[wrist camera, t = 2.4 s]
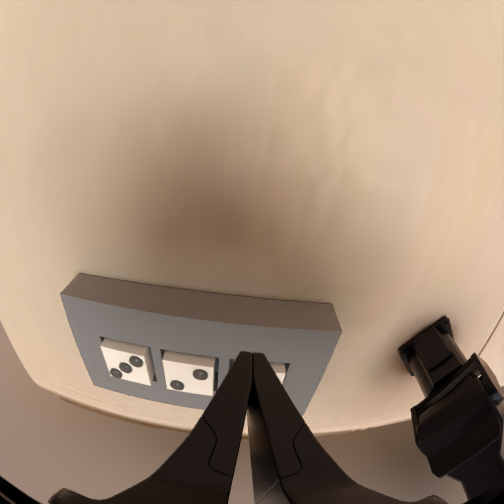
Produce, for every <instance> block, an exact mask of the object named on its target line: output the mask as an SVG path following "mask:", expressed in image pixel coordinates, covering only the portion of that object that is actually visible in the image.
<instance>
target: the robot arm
mask: <svg viewBox="0 0 504 504" xmlns="http://www.w3.org/2000/svg"><path fill="white" fill-rule="evenodd" d="M398 352H399V354H400V356H401V358H402V360H403V361H404V363H405V365H406V367H407V369H408V371H409V373H410V375H411V376H414V375H415V377H416V379H417V381H418V383H419V385H420V387H421V390H422V392H423V394H424V396H425V399H424V400H423V401H421V402H420V403H419V404H417V405H416V406H414V407H412V408H411V417H412V422H413V428H414V435H415V441H416V444H417V447H418V448H419V449H420V450H421V451H422V453H423V454H425V455H426V457H427V459H428V461H429V464H430V467H431V470H432V473H433V474H435V475H436V476H437V477H439V478H441V477H443V476H445V475H447V476H448V477H451V478H453V479H455V480H457V481H459V482H461V484H462V486H463V488H464V491H465V493H466V496H467V499H468V501H466V502H464V503H463V504H504V408H503V406H502V404H501V402H502V401H503V400H504V394H503V392H502V390H501V387H500V385H499V383H498V381H497V378H496V376H495V375H494V373H493V372H492V370H491V369H490V368H489V366H488V365H487V363H486V362H485V361H484V360H483V359H482V358H480V357H479V356H478V355H477V354H476V353H475V352H474V353H473V354H472V355H471V358H470V359H469V360H467V359H466V357H465V356H464V354H463V353H462V351H461V350H460V349H459V347H458V346H457V344H456V343H455V341H454V339H453V334H452V330H451V325H450V321H449V319H448V317H446V316H445V317H443V318H442V319H440V320H439V321H438V322H436V323H435V324H434V325H432V326H431V327H430V328H428V329H427V330H426V331H424V332H423V333H421V334H420V335H418V336H417V337H416V338H414V339H413V340H411V341H410V342H408V343H407V344H405V345H404V346H402V347H401V348H400V349H399V350H398ZM480 374H481V376H480V377H479V378H478V376H479V375H480ZM246 412H247V422H248V434H249V445H250V458H251V469H252V480H253V491H254V501H255V504H448V503H447V502H446V501H445V500H443V499H441V498H440V497H438V496H436V495H432V496H429V497H426V498H424V499H422V500H419V501H416V502H404V501H400V500H397V499H394V498H391V497H388V496H386V495H383V494H381V493H378V492H376V491H373V490H371V489H368V488H366V487H364V486H362V485H360V484H358V483H356V482H355V481H353V480H352V479H351V478H350V477H349V476H348V475H347V474H346V473H345V472H344V471H343V470H342V469H341V468H340V467H339V465H338V464H337V463H336V462H335V461H334V460H333V459H332V458H331V456H330V455H329V454H328V453H327V452H326V451H325V449H324V448H323V447H322V446H321V444H320V443H319V442H318V441H317V439H316V438H315V436H314V435H313V433H312V432H311V430H310V429H309V427H308V426H307V424H306V423H305V421H304V419H303V418H302V416H301V414H300V413H299V411H298V410H297V408H296V406H295V405H294V403H293V401H292V400H291V398H290V397H289V395H288V393H287V392H286V390H285V388H284V387H283V385H282V383H281V382H280V380H279V378H278V376H277V375H276V373H275V371H274V370H273V368H272V366H271V365H270V363H269V361H268V359H267V358H266V356H265V354H264V353H260V352H253V353H251V352H249V351H240V352H239V354H238V356H237V358H236V359H235V361H234V363H233V364H232V366H231V368H230V370H229V371H228V373H227V375H226V376H225V378H224V380H223V381H222V383H221V385H220V386H219V388H218V390H217V391H216V393H215V395H214V396H213V398H212V400H211V401H210V403H209V404H208V406H207V408H206V409H205V411H204V413H203V414H202V417H200V419H199V420H198V422H197V424H196V425H195V427H194V428H193V429H192V431H191V432H190V434H189V435H188V436H187V438H186V439H185V440H184V441H183V443H182V444H181V445H180V446H179V447H178V448H177V449H176V450H175V452H174V453H173V454H172V455H171V456H170V457H169V458H168V459H167V460H166V461H165V462H164V463H163V464H162V466H160V467H159V468H158V469H157V470H156V471H155V472H154V473H153V474H152V475H151V476H149V477H148V478H147V479H145V480H143V481H141V482H139V483H138V484H136V485H134V486H132V487H131V488H128V489H126V490H124V491H122V492H120V493H118V494H116V495H114V496H112V497H110V498H107V499H103V500H95V499H91V498H88V497H85V496H83V495H81V494H78V493H76V492H74V491H72V490H69V489H66V488H62V489H61V490H59V491H58V492H57V493H55V494H54V495H53V496H51V498H50V499H49V500H48V503H50V504H228V500H229V495H230V490H231V485H232V480H233V476H234V471H235V466H236V461H237V457H238V451H239V447H240V441H241V437H242V432H243V427H244V422H245V417H246ZM0 504H42V503H40V502H39V501H37V500H35V499H33V498H32V497H31V496H29V495H27V494H26V493H24V492H23V491H21V490H20V489H19V488H17V487H15V486H14V485H13V484H11V483H10V482H8V481H7V480H6V479H4V478H3V477H2V476H0Z"/></svg>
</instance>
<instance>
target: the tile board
mask: <svg viewBox="0 0 504 504" xmlns="http://www.w3.org/2000/svg"><path fill="white" fill-rule="evenodd" d="M60 295H61V299H62V302H63V305H64V309H65V312H66V315H67V318H68V321H69V324H70V327H71V330H72V333H73V336H74V338H75V341H76V344H77V346H78V349H79V352H80V354H81V357H82V359H83V361H84V364H85V366H86V369H87V371H88V373H89V375H90V378H91V380H92V382H93V384H94V385H95V386H98V387H102V388H105V389H108V390H112V391H115V392H119V393H123V394H126V395H130V396H134V397H138V398H143V399H147V400H151V401H156V402H161V403H166V404H171V405H177V406H182V407H189V408H195V409H202V410H205V409H206V408H207V406H208V404H209V403H210V401H211V400H212V398H213V396H214V395H215V393H216V391H217V390H218V388H219V386H220V385H221V383H222V381H223V380H224V378H225V376H226V375H227V373H228V371H229V370H230V368H231V366H232V364H233V363H234V359H236V358H237V356H238V354H239V352H240V351H249V352H251V353H253V352H260V353H264V354H265V356H266V358H267V359H268V361H269V362H275V363H285V372H286V374H285V377H284V380H283V383H282V385H283V387H284V388H285V390H286V392H287V393H288V395H289V397H290V398H291V400H292V401H293V403H294V405H295V406H296V408H297V410H298V411H299V413H300V414H301V416H303V414H304V412H305V410H306V409H307V407H308V405H309V403H310V401H311V399H312V397H313V395H314V393H315V391H316V389H317V386H318V384H319V382H320V380H321V378H322V376H323V374H324V372H325V369H326V367H327V365H328V363H329V360H330V358H331V356H332V354H333V351H334V349H335V347H336V344H337V342H338V339H339V337H340V335H341V332H342V330H341V327H340V324H339V322H338V319H337V316H336V314H335V311H334V308H333V306H332V304H324V303H310V302H297V301H285V300H274V299H263V298H253V297H243V296H234V295H225V294H216V293H208V292H199V291H191V290H184V289H176V288H169V287H162V286H155V285H148V284H141V283H135V282H129V281H122V280H116V279H110V278H104V277H99V276H93V275H87V274H82V273H79V274H78V275H77V276H76V277H75V278H74V279H73V280H72V281H71V282H70V284H69V285H68V286H67V287H66V288H65V289H64V290H63V291H62V292H61V293H60ZM105 337H106V338H110V339H115V340H119V341H123V342H128V343H133V344H137V345H142V346H147V347H151V353H152V358H153V364H154V369H155V375H154V378H153V381H152V384H151V386H150V385H145V384H141V383H137V382H132V381H128V380H124V379H119V378H115V377H113V376H111V375H110V372H109V370H108V367H107V364H106V361H105V358H104V356H103V353H102V350H101V347H100V346H101V344H102V342H103V340H104V339H105ZM165 350H169V351H175V352H181V353H188V354H195V355H202V356H210V357H216V361H215V382H214V389H213V396H209V395H201V394H194V393H188V392H182V391H176V390H170V389H167V385H166V380H165V374H164V368H163V362H162V359H163V356H164V353H165ZM246 414H247V412H246Z"/></svg>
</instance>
